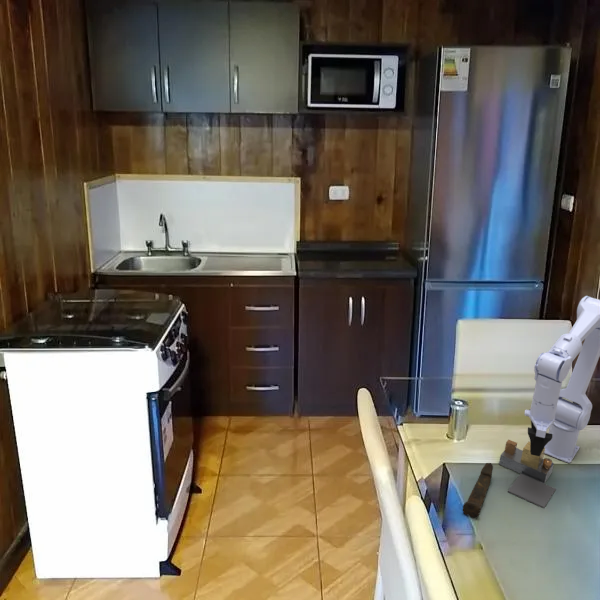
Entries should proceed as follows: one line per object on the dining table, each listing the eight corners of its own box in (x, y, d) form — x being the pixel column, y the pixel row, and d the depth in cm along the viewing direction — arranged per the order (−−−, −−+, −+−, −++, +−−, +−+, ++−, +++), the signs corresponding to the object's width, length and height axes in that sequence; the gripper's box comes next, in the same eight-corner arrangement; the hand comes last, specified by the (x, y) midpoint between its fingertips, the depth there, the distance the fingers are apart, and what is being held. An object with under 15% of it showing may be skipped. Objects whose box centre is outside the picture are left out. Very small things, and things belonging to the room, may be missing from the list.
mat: (520, 474, 157) (520, 473, 156) (555, 489, 152) (556, 488, 151) (507, 491, 150) (507, 490, 150) (544, 508, 145) (544, 507, 145)
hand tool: (478, 521, 140) (481, 505, 139) (461, 514, 142) (464, 498, 140) (499, 478, 155) (502, 463, 154) (483, 472, 157) (486, 457, 156)
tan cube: (526, 454, 160) (528, 441, 159) (542, 460, 158) (545, 448, 156) (520, 460, 157) (523, 448, 156) (537, 467, 155) (540, 455, 153)
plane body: (507, 454, 165) (510, 435, 163) (551, 472, 158) (556, 453, 156) (498, 464, 160) (502, 445, 158) (544, 483, 154) (548, 464, 151)
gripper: (528, 382, 154) (519, 427, 160) (527, 410, 142) (517, 458, 147) (558, 388, 152) (548, 433, 157) (559, 417, 140) (548, 465, 145)
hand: (535, 446), depth 152 cm, fingers open, 7 cm apart
